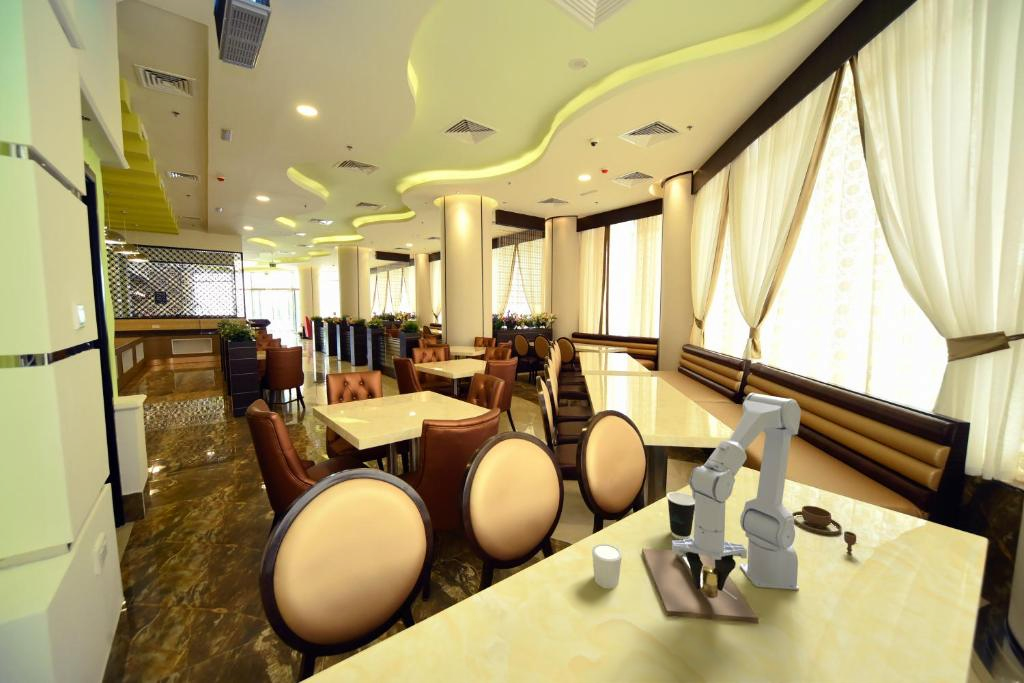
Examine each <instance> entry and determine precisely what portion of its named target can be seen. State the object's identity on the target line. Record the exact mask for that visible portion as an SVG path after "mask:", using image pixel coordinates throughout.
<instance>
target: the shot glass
mask: <svg viewBox="0 0 1024 683" xmlns="http://www.w3.org/2000/svg"><path fill="white" fill-rule="evenodd" d="M591 552H592V563H593V564H592V567H593V579H594V582H595V584H597V585H598V586H600V587H601V588H603V589H614V588H616V587H618V586H619V582H620V574H621V565H622V558H623V557H622V556H623V553H622V551H621V550H620V549H619V548H618V547H617V546H614V545H612V544H607V543H600V544H597V545H594V546H593V547H592V549H591Z"/></svg>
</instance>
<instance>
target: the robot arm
mask: <svg viewBox="0 0 1024 683" xmlns="http://www.w3.org/2000/svg"><path fill="white" fill-rule="evenodd" d="M801 414H802V410H801V407H800V404H798V401H797V400H796V399H793V398H785V397H778V396H772V395H767V394H761V393H760V394H759V393H757V392H750V393H749V394H748V395H747V396H746V397H745V398H744V401H743V403H742V417H741V419H740V421H739V422H738V424H737V426H736V427H735V429H734V431H733V433H732V434H731V436H730V438H729V439H728V440H724V441H721V442H719V444H718V445H717V446H716V448H715V449H714V450H713V452H712V453H711V454H710V456H709V458H707V461H706V462H705V463H704V464H703V465H700V466H697V467H695V468H693V470H692V471H691V473H690V478H689V479H688V485H689V488H690V489H691V495H692V497H693V499H694V500H695V511H694V517H693V522H694V523H693V524H694V525H693V526H694V527H693V537H692V538H689V539H685V540H682V539H678V540H671V550H673V552H674V554H678V555H679V554H680V553H685V555H686V558H687V560H688V563H689V566H690V569H691V573H692V577H693V583H694V585H695V587H696V589H700V587H701V570H702V566H703V563H702V562H701V560H700V557H699V554H701V555H705V556H709V557H710V558H711V559H715V568H716V569H717V570H718V572H719V576H718V590H719V591H722V590H723V587H724V584H725V581H726V579H727V577H728V575H729V576H730V574H731V573H732V571H733V570H734V569H736V566H737V562H736V560H735V559H734V557H740V558H741V559H746V560H747V563H740V564H739V567H740V568H741V569H742V570H743V572H744V573H745V575H746V576H747V577H748V579H749V580H750V581H751V582H752V584H753V585H754V586H755V587H756V588H763V589H764V588H766V589H779V590H780V589H782V590H797V591H798V590H800V587H799V586H798V568H799V567H798V566H799V560H798V554H797V551H796V549H795V547H794V546H793V544H794V541H795V538H796V530H795V522H794V516H793V515H792V513H791V512H790V510H788V508H786V506H784V504H783V497H784V490H785V483H786V476H787V468H788V463H789V462H788V461H789V455H790V448H791V439H792V436H795V435H798V434H799V429H800V424H801V422H800V421H801V416H802V415H801ZM762 431H763V432H764V434H765V435H764V442H763V449H762V450H763V451H762V456H761V457H762V458H761V463H760V464H761V465H760V472H759V477H758V478H759V479H758V484H757V492H756V497H755V498H751V499H749V500H746V501H745V504H744V507H743V511H742V512H741V514H740V519H739V523H740V527H741V530H742V531H744V532H745V537H747V538H748V540H747V542H748V543H747V544H748V545H747V548H746V547H745V546H744V545H743V544H739V543H733V542H730V541H725V532H726V531H725V530H726V529H725V528H726V501H727V500H729V498H730V497H731V495H732V492H733V488H734V484H735V482H736V479H735V477H736V475H737V474H738V472H739V471H740V469H742V468H741V467H742V466H743V465H744V464H745V462H746V461H747V458H748V457H747V454H746V451H747V449H748V448H749V446H750V445H751V444H752V443H753V442H754V441H755V440H756V438H757V437H758V436H759V435H760V434H761V433H762Z"/></svg>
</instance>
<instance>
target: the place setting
mask: <svg viewBox="0 0 1024 683" xmlns="http://www.w3.org/2000/svg"><path fill="white" fill-rule="evenodd" d="M791 514H792V515H793V516H796V515H802V516H801V517H802V519H803V520H804V521H805V522H806V523H807V524H808V525H809V524H810V525H809V526H808V525H805V524H804V523H802V522H799V521H798V520H797V519H796V518H795V519H794V524H796V525H799V527H800V526H801V527H800V528H802V527H803V528H802V529H804V530H806V529H807V530H806V531H810V532H812V533H815V534H819V535H824V536H825V535H826V536H836V535H839V534H841V532H842V530H843V528H842V524H840V523H839V521H836V520H834V519H832V514H831V512H829V511H828V510H826V509H824V508H821V507H819V506H813V505H804V506H802V507H801V511H794V512H792V513H791ZM830 523H832V524H833V525H834V526H833V525H832V524H830ZM811 525H812V527H811ZM830 525H832V526H833V527H835V526H836V527H835V528H836V529H838V530H833V531H832V530H823V528H825V527H828V526H830ZM813 526H814V527H813ZM843 541H844V542H845V543H846V544H847V547H846V550H847V551H846V552H845V553H846V554H848V555H853V553H852V552H853V549H852V547H853V546H854V545H856V544H858V543H857V534H856V533H854V532H852V531H848V530H847V531H846V530H845V531H844V533H843Z"/></svg>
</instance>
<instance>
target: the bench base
mask: <svg viewBox="0 0 1024 683" xmlns="http://www.w3.org/2000/svg"><path fill="white" fill-rule="evenodd" d="M641 552H642V553H643V554H642V556H643V558H645V559H644V561H645V563H646V566H647V569H648V572H649V574H650V576H651V579H652V582H653V584H654V587H655V589H656V592H657V593H658V594H657V595H658V597H659V599H660V602H661V604H662V607H663V610H664V612H665V615H666V616H667V617H672V618H686V619H698V620H699V619H701V620H708V621H709V620H711V621H726V622H734V623H735V622H736V623H737V622H738V623H746V624H747V623H750V624H751V623H752V624H759V619H760V618H759V616H758V614H757V613H756V612H755V610H754V609H753V607H752V606H751V605H750V603H749V602H748V599H746V597H745V596H744V594H743V593H742V591H741V590H740V589H739V588H738V586H737V584H736V583H735V582H734V580H733V579H732V577H731V576H730V574H729V575H728V577H727V579H726V581H725V584H724V587H723V590H722V591H719V590H718V596H717V597H716V598H705V597H704V596H703V594H702V592H701V591H700V589H696V587H695V585H694V583H693V578H692V576H691V574H690V573H689V571H688V570H687V568H686V566H685V565H684V563H681V562H679V561H677V560H676V559H675V554H674V552H673V550H672V549H656V548H655V549H654V548H642V549H641ZM699 557H700V560H701V562H702V563H703V566H702V570H701V573H702V574H703V567H704V566H712V567H714V568H715V559H711V558H710V557H709V556H705V555H701V554H699Z"/></svg>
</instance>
